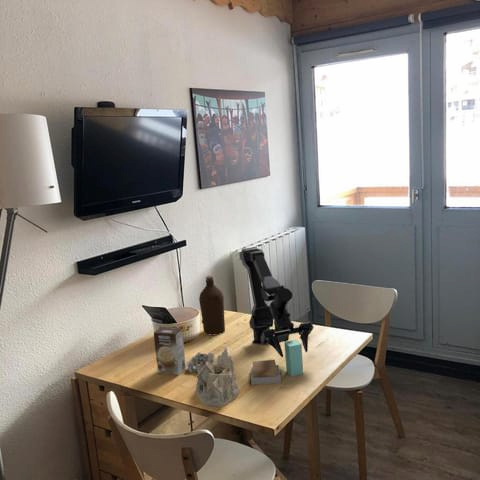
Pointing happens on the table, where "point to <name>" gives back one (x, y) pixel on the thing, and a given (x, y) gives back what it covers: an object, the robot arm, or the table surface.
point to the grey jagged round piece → (217, 381)
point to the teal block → (293, 357)
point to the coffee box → (169, 350)
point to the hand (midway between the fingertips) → (294, 354)
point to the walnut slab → (264, 368)
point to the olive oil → (212, 308)
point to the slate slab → (265, 378)
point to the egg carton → (194, 361)
